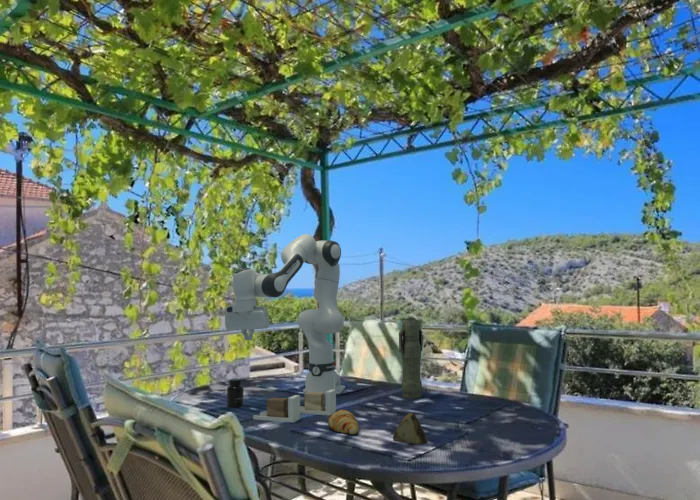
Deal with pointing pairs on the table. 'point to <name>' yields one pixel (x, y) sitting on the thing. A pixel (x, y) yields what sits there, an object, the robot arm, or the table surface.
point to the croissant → (343, 422)
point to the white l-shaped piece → (330, 404)
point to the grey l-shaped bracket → (292, 412)
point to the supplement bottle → (235, 394)
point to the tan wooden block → (315, 401)
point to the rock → (410, 431)
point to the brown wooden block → (277, 407)
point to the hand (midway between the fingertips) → (248, 340)
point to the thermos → (411, 358)
